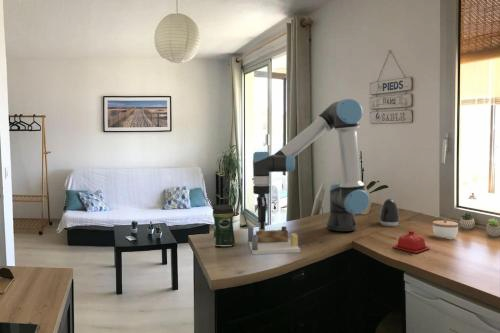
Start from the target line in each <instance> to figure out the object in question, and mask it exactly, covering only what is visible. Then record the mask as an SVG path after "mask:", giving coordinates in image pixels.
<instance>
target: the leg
mask: <svg viewBox="0 0 500 333" xmlns="http://www.w3.org/2000/svg"><path fill="white" fill-rule="evenodd" d="M255 235H258V243H260V242H283V241H288V239H289V231H288V230H287V226H281V229H277V230H275V229H274V230H265V231H259V230H256V231H255Z"/></svg>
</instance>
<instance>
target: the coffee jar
mask: <svg viewBox="0 0 500 333" xmlns="http://www.w3.org/2000/svg"><path fill="white" fill-rule="evenodd" d="M212 208H213V209H212V217H213V221H214V222H213V224H214V225H213V242H212V243H214V244H215V245H233V244H234V245H235V244H236V242H235V232H234V222H233V221H234V220H233V218H234V216H235V212H234V205H232V204H216V205H213V207H212ZM214 244H213V245H214ZM234 245H233V246H234Z"/></svg>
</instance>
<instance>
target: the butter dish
mask: <svg viewBox="0 0 500 333" xmlns="http://www.w3.org/2000/svg"><path fill="white" fill-rule="evenodd" d="M407 232H408V233H404V234H402V235H400V236H399V237H398V240H397V244H394V245H393V246H392V247H393V248H394V249H398V250H402V251H406V252H411V253H414V254H415V253H416V254H417V253H421V252H423V251H427V250H429V249H431V247H430V246H426V242H425V238H424V236H422V235H420V234H416V233H415V230H413V229H410V230H408V231H407Z"/></svg>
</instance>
